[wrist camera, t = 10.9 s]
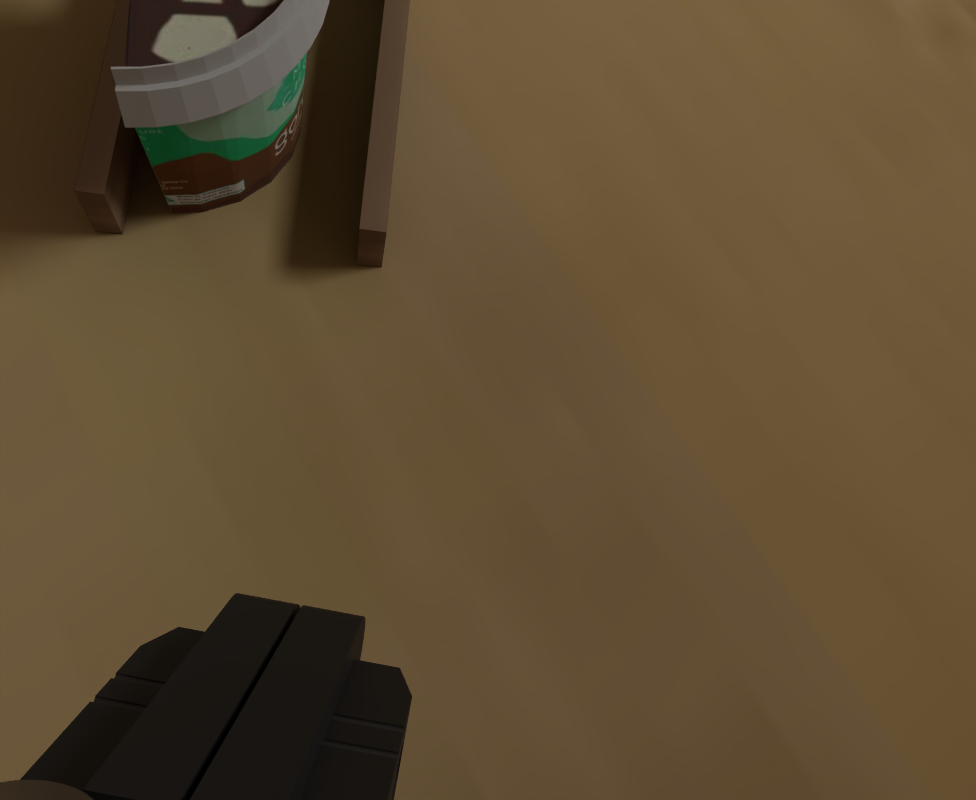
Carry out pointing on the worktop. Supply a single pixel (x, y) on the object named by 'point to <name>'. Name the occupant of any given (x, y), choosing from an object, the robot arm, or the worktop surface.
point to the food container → (216, 92)
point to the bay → (118, 147)
